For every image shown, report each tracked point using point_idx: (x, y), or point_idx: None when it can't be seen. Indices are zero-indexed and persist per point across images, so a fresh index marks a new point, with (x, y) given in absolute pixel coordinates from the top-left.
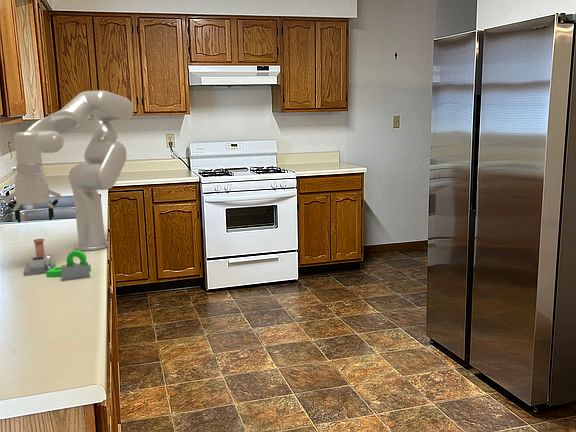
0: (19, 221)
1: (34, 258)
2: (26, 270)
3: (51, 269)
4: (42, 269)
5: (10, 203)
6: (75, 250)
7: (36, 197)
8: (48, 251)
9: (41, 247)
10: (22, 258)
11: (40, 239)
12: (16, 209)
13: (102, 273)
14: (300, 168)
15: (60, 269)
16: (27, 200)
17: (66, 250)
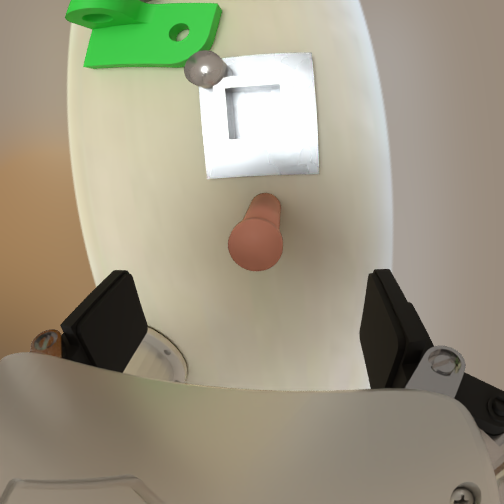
0: (376, 273)
1: (277, 137)
2: (303, 74)
3: (201, 29)
4: (240, 65)
5: (500, 420)
6: (79, 5)
7: (55, 452)
8: (261, 371)
9: (247, 216)
10: (336, 325)
11: (245, 250)
12: (428, 364)
13: (71, 33)
14: None
15: (169, 23)
16: (261, 455)
17: (208, 360)
